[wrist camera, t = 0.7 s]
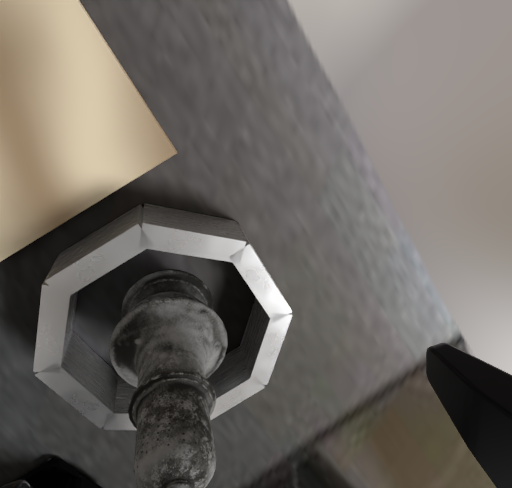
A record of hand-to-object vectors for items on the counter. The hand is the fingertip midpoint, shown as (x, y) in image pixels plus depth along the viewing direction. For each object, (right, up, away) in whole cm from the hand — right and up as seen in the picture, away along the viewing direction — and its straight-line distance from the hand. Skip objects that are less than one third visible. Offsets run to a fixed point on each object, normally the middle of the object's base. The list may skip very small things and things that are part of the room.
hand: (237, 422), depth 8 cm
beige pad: (-11, +10, +8) cm, 17 cm away
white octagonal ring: (-5, 0, +14) cm, 15 cm away
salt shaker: (-5, 0, +14) cm, 15 cm away
